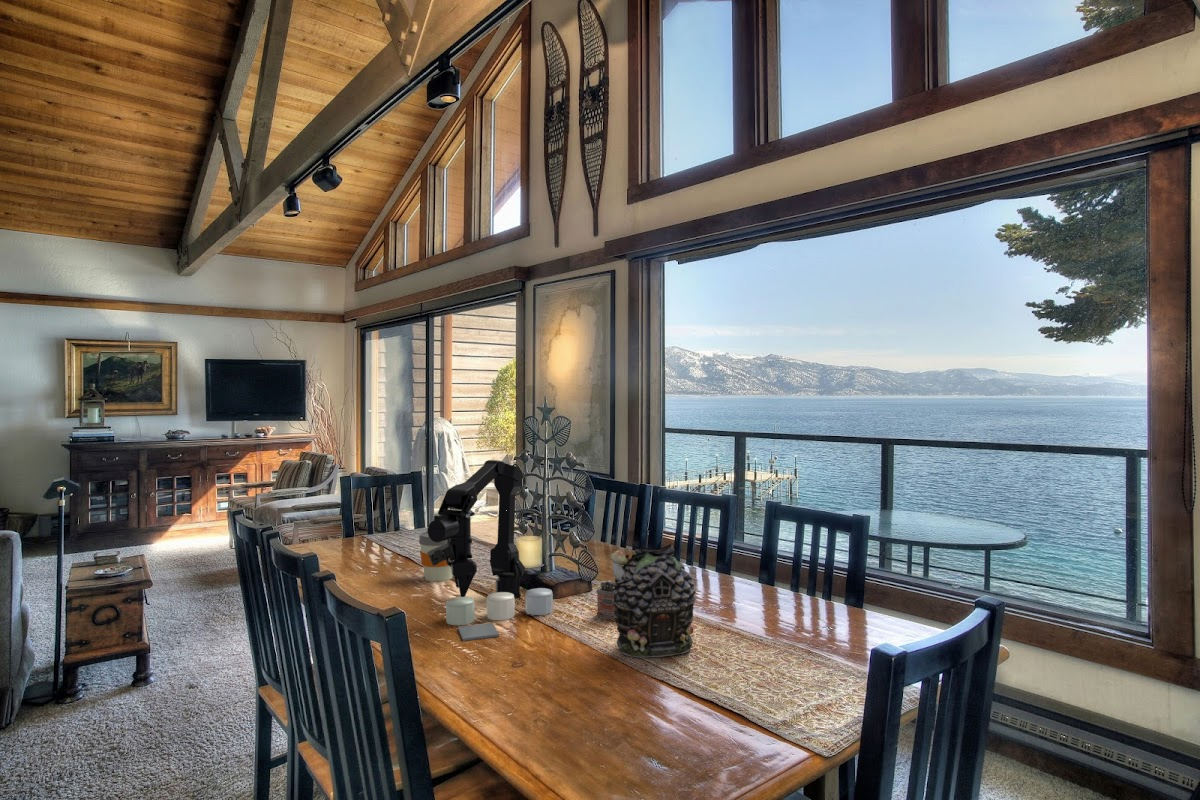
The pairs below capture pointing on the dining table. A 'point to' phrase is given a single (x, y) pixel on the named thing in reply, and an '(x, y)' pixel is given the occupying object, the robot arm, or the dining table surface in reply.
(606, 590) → the lighter
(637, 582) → the decorative house
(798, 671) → the dining table surface
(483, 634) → the slate coaster
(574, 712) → the dining table surface
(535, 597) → the light grey cylinder
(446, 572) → the reusable coffee cup
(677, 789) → the dining table surface
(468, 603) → the sage cup
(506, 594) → the cream cup
